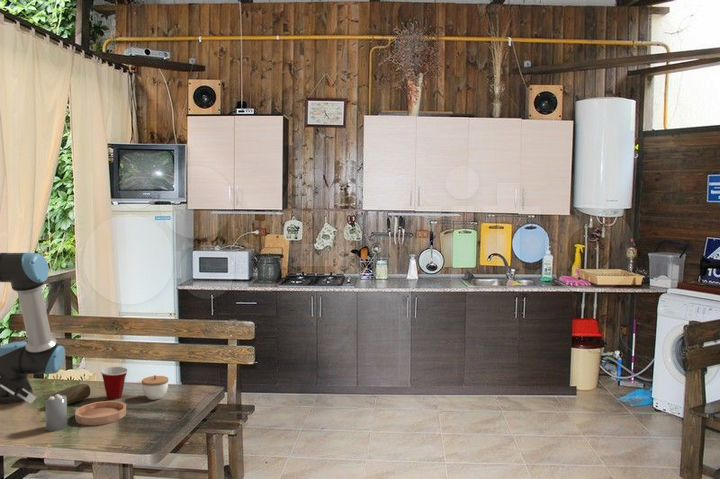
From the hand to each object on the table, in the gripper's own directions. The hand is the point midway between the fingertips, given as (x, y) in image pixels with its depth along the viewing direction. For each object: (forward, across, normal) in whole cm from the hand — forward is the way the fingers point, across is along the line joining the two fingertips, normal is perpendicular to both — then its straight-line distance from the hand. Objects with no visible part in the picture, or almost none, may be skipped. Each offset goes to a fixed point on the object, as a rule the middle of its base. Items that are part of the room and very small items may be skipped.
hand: (25, 396), depth 209 cm
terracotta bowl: (+29, +2, +8) cm, 30 cm away
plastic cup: (+40, -15, +19) cm, 47 cm away
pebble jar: (+18, 0, -3) cm, 18 cm away
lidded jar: (+48, -2, +27) cm, 55 cm away
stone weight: (+29, -23, +8) cm, 38 cm away
